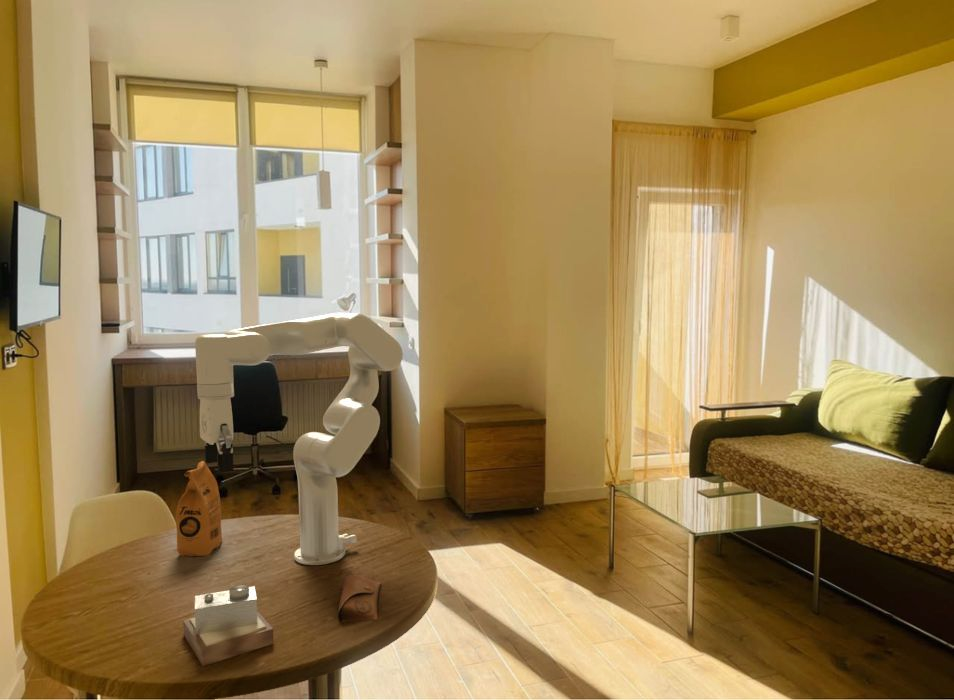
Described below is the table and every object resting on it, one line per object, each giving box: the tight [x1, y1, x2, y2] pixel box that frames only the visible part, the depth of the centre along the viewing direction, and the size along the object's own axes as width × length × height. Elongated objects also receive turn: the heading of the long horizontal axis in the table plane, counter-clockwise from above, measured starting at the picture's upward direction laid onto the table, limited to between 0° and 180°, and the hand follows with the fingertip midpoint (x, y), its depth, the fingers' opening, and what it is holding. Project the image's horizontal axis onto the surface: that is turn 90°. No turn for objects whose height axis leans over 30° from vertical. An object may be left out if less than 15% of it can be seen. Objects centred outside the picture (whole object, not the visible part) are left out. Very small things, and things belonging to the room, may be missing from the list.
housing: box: [194, 584, 258, 635], centre depth 133 cm, size 6×11×6 cm, turn 111°
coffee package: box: [175, 460, 223, 557], centre depth 179 cm, size 10×12×22 cm
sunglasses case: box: [337, 571, 382, 623], centre depth 149 cm, size 18×7×7 cm
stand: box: [182, 610, 275, 667], centre depth 133 cm, size 13×14×3 cm
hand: (219, 466), depth 153 cm, fingers open, 9 cm apart
